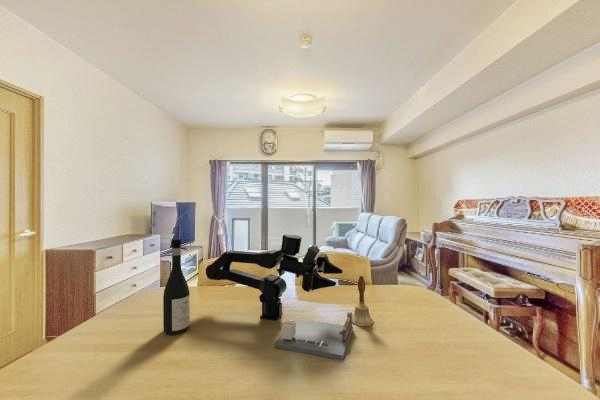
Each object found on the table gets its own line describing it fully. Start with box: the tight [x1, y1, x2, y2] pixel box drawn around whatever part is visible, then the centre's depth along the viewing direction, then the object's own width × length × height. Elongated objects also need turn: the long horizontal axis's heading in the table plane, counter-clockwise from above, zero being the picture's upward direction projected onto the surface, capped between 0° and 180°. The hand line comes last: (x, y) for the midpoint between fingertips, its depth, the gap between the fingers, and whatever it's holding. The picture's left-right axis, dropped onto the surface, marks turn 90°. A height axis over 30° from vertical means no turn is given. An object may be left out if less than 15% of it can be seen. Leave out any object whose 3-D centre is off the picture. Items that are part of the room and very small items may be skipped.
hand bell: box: [352, 275, 375, 327], centre depth 100 cm, size 8×8×16 cm
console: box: [273, 311, 354, 361], centre depth 88 cm, size 20×19×6 cm
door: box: [339, 316, 351, 342], centre depth 88 cm, size 2×10×3 cm, turn 161°
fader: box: [281, 320, 296, 340], centre depth 85 cm, size 3×4×4 cm
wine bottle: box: [162, 238, 191, 335], centre depth 93 cm, size 8×8×30 cm
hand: (339, 277), depth 96 cm, fingers open, 9 cm apart
